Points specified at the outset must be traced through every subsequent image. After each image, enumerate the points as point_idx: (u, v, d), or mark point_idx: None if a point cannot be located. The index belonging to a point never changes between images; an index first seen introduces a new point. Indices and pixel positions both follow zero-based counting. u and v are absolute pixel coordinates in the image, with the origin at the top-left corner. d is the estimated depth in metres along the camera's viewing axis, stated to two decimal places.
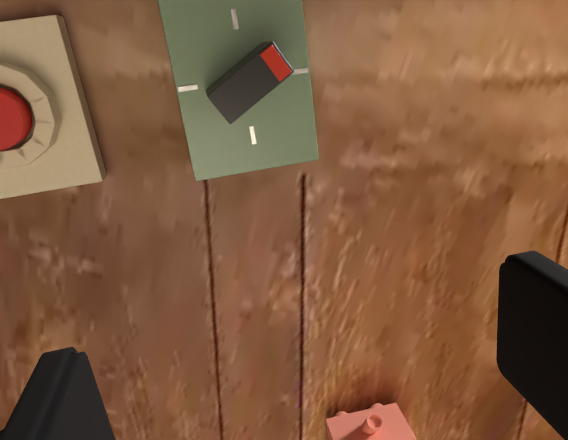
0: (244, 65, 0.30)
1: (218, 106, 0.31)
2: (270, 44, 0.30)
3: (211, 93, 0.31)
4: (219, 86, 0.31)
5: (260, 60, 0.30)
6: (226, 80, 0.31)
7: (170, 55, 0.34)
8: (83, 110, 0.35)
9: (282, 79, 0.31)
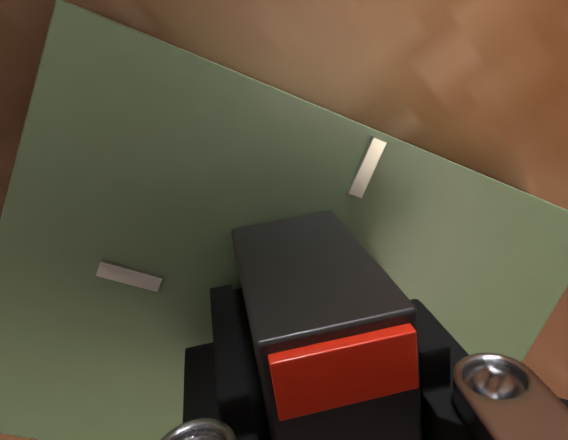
0: None
1: None
2: (264, 358, 0.07)
3: None
4: None
5: (298, 412, 0.07)
6: None
7: None
8: None
9: None
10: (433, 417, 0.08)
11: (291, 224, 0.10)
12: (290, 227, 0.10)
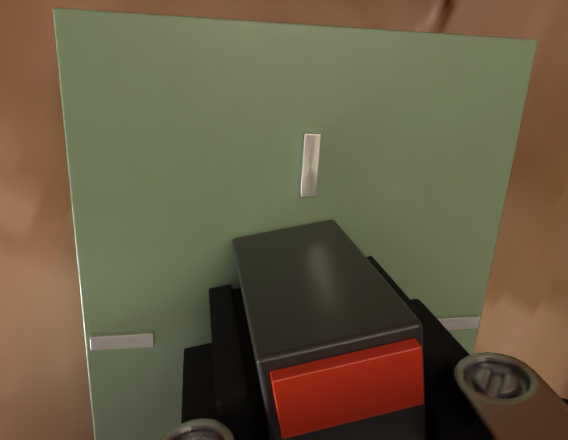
0: None
1: None
2: (266, 375, 0.06)
3: None
4: None
5: (301, 429, 0.07)
6: None
7: None
8: None
9: (421, 386, 0.07)
10: (434, 417, 0.08)
11: (293, 233, 0.10)
12: (291, 237, 0.10)
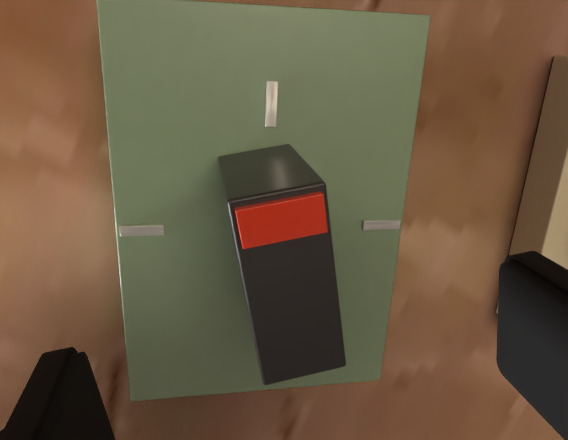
0: (246, 287, 0.12)
1: (297, 374, 0.13)
2: (232, 210, 0.11)
3: (264, 376, 0.13)
4: (259, 354, 0.13)
5: (255, 247, 0.12)
6: (256, 337, 0.12)
7: (392, 281, 0.18)
8: (551, 196, 0.20)
9: (326, 222, 0.11)
10: None
11: (259, 151, 0.15)
12: (258, 153, 0.15)
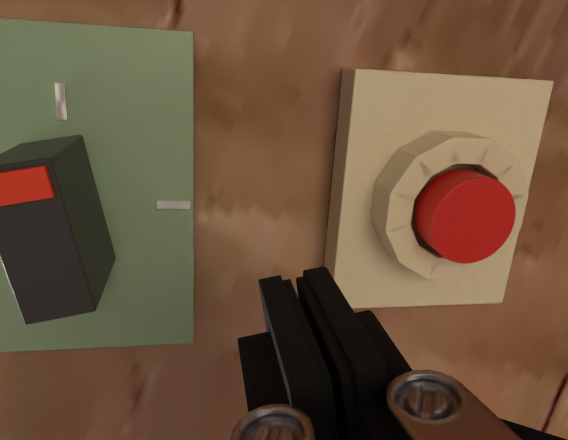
0: None
1: (52, 316, 0.16)
2: None
3: (23, 316, 0.16)
4: (17, 298, 0.16)
5: None
6: (10, 283, 0.16)
7: (191, 254, 0.21)
8: (341, 186, 0.23)
9: (52, 189, 0.15)
10: (367, 436, 0.07)
11: (51, 139, 0.18)
12: (48, 141, 0.18)
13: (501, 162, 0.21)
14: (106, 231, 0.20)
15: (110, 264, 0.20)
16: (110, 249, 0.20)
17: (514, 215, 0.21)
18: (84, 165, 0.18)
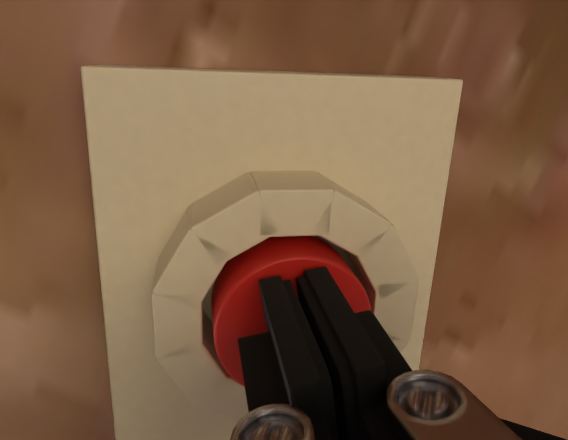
0: None
1: None
2: None
3: None
4: None
5: None
6: None
7: None
8: None
9: None
10: (368, 437, 0.07)
11: None
12: None
13: (360, 230, 0.12)
14: None
15: None
16: None
17: None
18: None
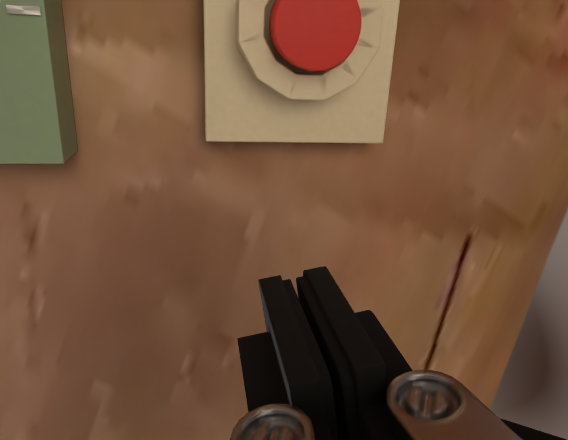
0: None
1: None
2: None
3: None
4: None
5: None
6: None
7: (49, 66, 0.22)
8: (203, 8, 0.23)
9: None
10: (368, 437, 0.07)
11: None
12: None
13: None
14: None
15: None
16: None
17: (360, 19, 0.21)
18: None
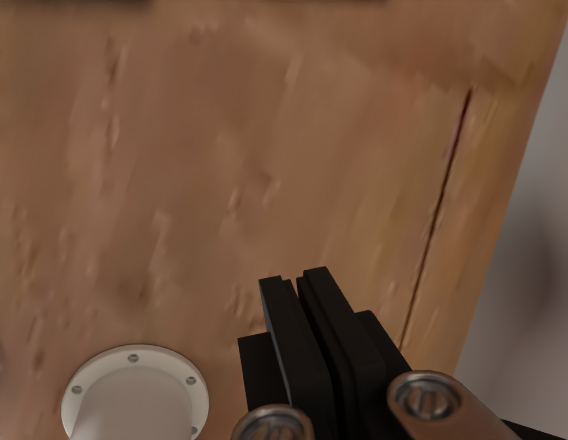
0: None
1: None
2: None
3: None
4: None
5: None
6: None
7: None
8: None
9: None
10: (367, 437, 0.07)
11: None
12: None
13: None
14: None
15: None
16: None
17: None
18: None
